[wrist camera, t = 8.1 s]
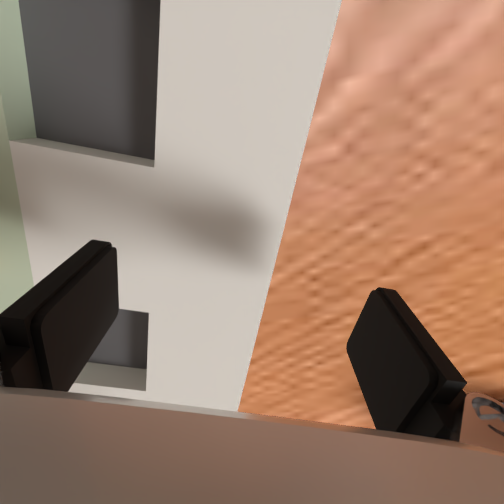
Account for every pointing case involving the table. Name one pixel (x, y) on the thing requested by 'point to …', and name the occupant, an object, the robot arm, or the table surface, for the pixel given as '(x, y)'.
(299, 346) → the table surface
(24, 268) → the board
